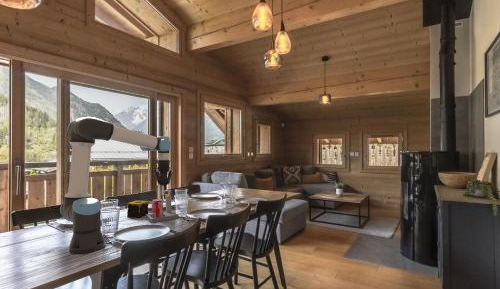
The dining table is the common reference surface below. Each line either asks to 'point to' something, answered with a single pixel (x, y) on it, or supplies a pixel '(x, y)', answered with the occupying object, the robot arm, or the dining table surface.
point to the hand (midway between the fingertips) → (163, 194)
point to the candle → (137, 209)
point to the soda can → (157, 208)
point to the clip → (167, 192)
